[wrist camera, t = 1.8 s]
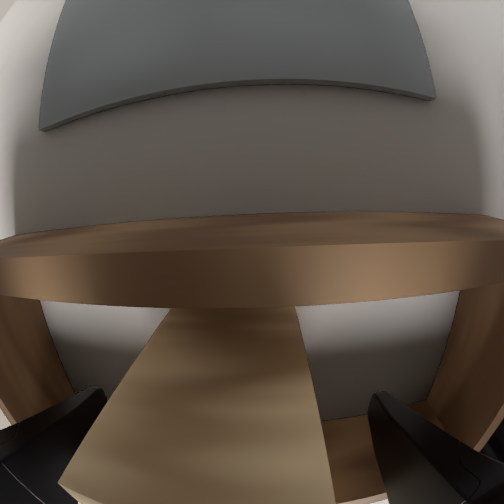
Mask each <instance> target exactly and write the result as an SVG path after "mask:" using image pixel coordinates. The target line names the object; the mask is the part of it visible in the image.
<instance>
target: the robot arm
mask: <svg viewBox="0 0 504 504" xmlns="http://www.w3.org/2000/svg"><path fill="white" fill-rule="evenodd" d="M107 402H108V400H107V397H106V395H105V393H104V391H103V389H102V388H99V387H95V386H91V387H88V388H87V389H85V390H83V391H81V392H79V393H77V394H75V395H73V396H71V397H69V398H67V399H65V400H63V401H61V402H59V403H57V404H55V405H53V406H51V407H49V408H47V409H45V410H43V411H41V412H39V413H37V414H35V415H33V416H31V417H29V418H27V419H25V420H22V421H20V423H19V422H18V423H16V424H14V425H12V426H9V427H7V428H5V429H2V430H0V504H78V501H77V500H76V499H75V498H74V497H72V496H71V495H70V494H69V493H68V492H67V491H66V490H65V489H64V488H63V487H62V486H61V485H59V484H58V481H59V479H60V478H61V476H62V474H63V473H64V471H65V469H66V467H67V466H68V464H69V462H70V461H71V459H72V457H73V456H74V454H75V452H76V451H77V449H78V448H79V446H80V444H81V443H82V441H83V439H84V438H85V436H86V435H87V433H88V431H89V430H90V428H91V427H92V425H93V423H94V422H95V420H96V419H97V417H98V416H99V414H100V412H101V411H102V409H103V408H104V406H105V405H106V403H107ZM367 416H368V421H369V426H370V432H371V437H372V443H373V448H374V453H375V457H376V460H377V463H378V466H379V470H380V473H381V476H382V480H383V483H384V487H385V490H386V493H387V497H388V501H389V504H504V418H503V420H502V421H501V423H500V424H499V426H498V427H497V429H496V430H495V431H494V433H493V434H492V436H491V437H490V439H489V440H488V441H487V443H486V444H485V445H484V447H483V448H482V449H481V450H480V452H478V451H476V450H474V449H473V448H471V447H469V446H467V445H466V444H464V443H463V442H459V440H458V439H456V438H455V437H453V436H452V435H450V434H448V433H447V432H445V431H444V430H442V429H441V428H439V427H438V426H436V425H435V424H433V423H432V422H430V421H429V420H427V419H426V418H424V417H423V416H421V415H420V414H418V413H417V412H415V411H414V410H412V409H411V408H409V407H408V406H406V405H405V404H403V403H402V402H401V401H399V400H398V399H396V398H395V397H393V396H392V395H390V394H389V393H388V392H386V391H381V392H376V393H373V395H372V397H371V400H370V404H369V407H368V411H367Z"/></svg>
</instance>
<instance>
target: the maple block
mask: <svg viewBox="0 0 504 504" xmlns="http://www.w3.org/2000/svg"><path fill="white" fill-rule="evenodd" d="M58 484H59V485H61V486H62V487H63V488H64V489H65V490H66V491H67V492H68V493H69V494H70V495H71V496H72V497H74V498H75V499H76V500H77V501H78V502H79V503H81V504H336V502H335V496H334V490H333V484H332V479H331V473H330V468H329V462H328V457H327V452H326V446H325V441H324V436H323V431H322V426H321V421H320V416H319V411H318V406H317V402H316V397H315V392H314V388H313V383H312V378H311V374H310V369H309V365H308V360H307V356H306V351H305V347H304V343H303V338H302V334H301V330H300V326H299V321H298V317H297V313H296V309H295V306H289V307H262V308H171V309H170V311H169V312H168V314H167V315H166V316H165V318H164V319H163V321H162V322H161V323H160V325H159V326H158V328H157V329H156V331H155V332H154V333H153V335H152V336H151V338H150V339H149V341H148V342H147V344H146V345H145V346H144V348H143V349H142V351H141V352H140V354H139V355H138V357H137V358H136V360H135V361H134V363H133V364H132V365H131V367H130V368H129V370H128V371H127V373H126V374H125V376H124V377H123V379H122V380H121V382H120V383H119V385H118V386H117V388H116V389H115V391H114V392H113V394H112V396H111V397H110V399H109V400H108V402H107V403H106V405H105V406H104V408H103V409H102V411H101V412H100V414H99V416H98V417H97V419H96V420H95V422H94V423H93V425H92V427H91V428H90V430H89V431H88V433H87V435H86V436H85V438H84V439H83V441H82V443H81V444H80V446H79V448H78V449H77V451H76V452H75V454H74V456H73V457H72V459H71V461H70V462H69V464H68V466H67V467H66V469H65V471H64V473H63V474H62V476H61V478H60V479H59V481H58Z"/></svg>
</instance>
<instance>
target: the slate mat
mask: <svg viewBox="0 0 504 504" xmlns="http://www.w3.org/2000/svg"><path fill="white" fill-rule="evenodd" d="M258 84H314V85H331V86H344V87H354V88H362V89H370V90H377V91H384V92H390V93H395V94H401V95H406V96H411V97H415V98H420V99H424V100H428V101H430V100H433V99H435V98H436V94H435V89H434V84H433V79H432V75H431V70H430V66H429V62H428V58H427V54H426V51H425V47H424V44H423V40H422V37H421V34H420V31H419V28H418V25H417V22H416V19H415V17H414V14H413V11H412V9H411V6H410V4H409V1H408V0H66V1H65V4H64V6H63V9H62V12H61V15H60V18H59V21H58V24H57V28H56V31H55V34H54V38H53V42H52V46H51V50H50V54H49V58H48V63H47V68H46V73H45V79H44V85H43V91H42V99H41V107H40V117H39V130H40V131H48V130H50V129H53V128H55V127H57V126H60V125H63V124H65V123H68V122H70V121H73V120H76V119H79V118H82V117H85V116H88V115H91V114H94V113H97V112H100V111H103V110H107V109H110V108H114V107H117V106H121V105H125V104H128V103H132V102H137V101H141V100H145V99H150V98H154V97H159V96H164V95H170V94H175V93H181V92H187V91H194V90H201V89H209V88H218V87H228V86H241V85H258Z"/></svg>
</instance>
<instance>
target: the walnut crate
mask: <svg viewBox="0 0 504 504" xmlns="http://www.w3.org/2000/svg"><path fill="white" fill-rule="evenodd" d="M457 290H460V295H459V299H458V304H457V308H456V313H455V317H454V321H453V325H452V328H451V332H450V336H449V339H448V342H447V346H446V349H445V352H444V355H443V358H442V361H441V364H440V367H439V369H438V372H437V375H436V377H435V380H434V383H433V385H432V388H431V390H430V393H429V395H428V397H427V400H425V401H421V402H418V403H414V404H411V405H407V406H408V407H409V408H411V409H412V410H414V411H415V412H417V413H418V414H420V415H421V416H423V417H424V418H426V419H427V420H429V421H430V422H432V423H433V424H435V425H436V426H438V427H439V428H441V429H442V430H444V431H445V432H447V433H448V434H450V435H452V436H453V437H455V438H456V439H458V440H459V442H463V443H464V444H466V445H467V446H469V447H471V448H473V449H474V450H476V451H478V452H480V450H481V449H482V448H483V447H484V445H485V444H486V443H487V441H488V440H489V439H490V437H491V436H492V434H493V433H494V431H495V430H496V429H497V427H498V426H499V424H500V423H501V421H502V420H503V418H504V220H502V219H498V218H493V217H489V216H485V215H472V214H451V213H421V212H299V213H266V214H242V215H222V216H204V217H188V218H174V219H160V220H148V221H136V222H125V223H114V224H104V225H94V226H85V227H76V228H67V229H59V230H51V231H43V232H36V233H28V234H21V235H15V236H12V237H8V238H5V239H2V240H0V408H1V410H2V411H3V413H4V414H5V416H6V417H7V419H8V420H9V422H10V423H11V425H14V424H16V423H18V422H19V423H20V421H22V420H25V419H27V418H29V417H31V416H33V415H35V414H37V413H39V412H41V411H43V410H45V409H47V408H49V407H51V406H53V405H55V404H57V403H59V402H61V401H63V400H65V399H67V398H69V397H71V396H73V395H75V392H74V390H73V388H72V386H71V384H70V382H69V380H68V377H67V375H66V373H65V371H64V369H63V366H62V364H61V362H60V359H59V357H58V354H57V352H56V349H55V347H54V344H53V341H52V338H51V336H50V333H49V330H48V327H47V324H46V321H45V318H44V315H43V311H42V308H41V305H40V301H39V300H46V301H56V302H67V303H79V304H93V305H108V306H127V307H153V308H262V307H289V306H309V305H326V304H340V303H353V302H365V301H376V300H386V299H395V298H404V297H413V296H421V295H429V294H437V293H444V292H451V291H457ZM321 426H322V431H323V436H324V441H325V446H326V452H327V457H328V462H329V468H330V473H331V479H332V484H333V490H334V496H335V502H336V504H370V503H374V502H377V501H381V500H385V499H388V497H387V493H386V490H385V487H384V483H383V480H382V476H381V473H380V470H379V466H378V463H377V460H376V457H375V453H374V448H373V443H372V437H371V432H370V426H369V421H368V416H367V415H362V416H356V417H350V418H343V419H336V420H329V421H321Z"/></svg>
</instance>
